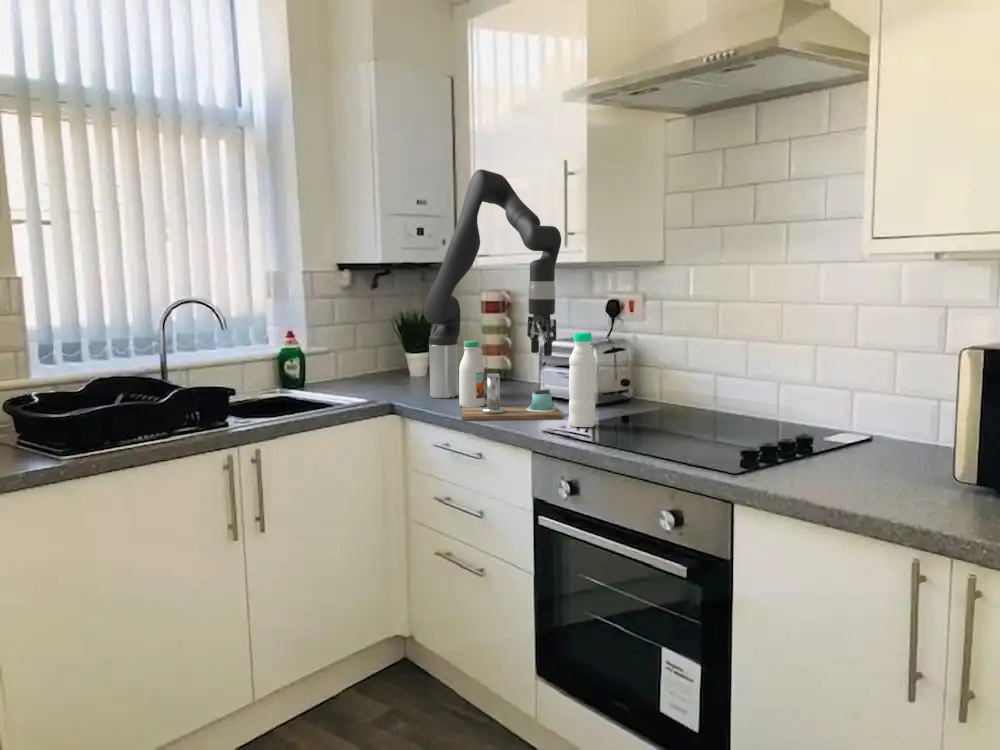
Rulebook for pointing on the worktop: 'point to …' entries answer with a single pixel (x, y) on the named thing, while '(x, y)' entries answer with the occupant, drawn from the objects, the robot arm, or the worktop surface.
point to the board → (511, 414)
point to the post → (493, 396)
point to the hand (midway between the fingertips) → (541, 354)
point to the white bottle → (582, 382)
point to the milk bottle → (471, 377)
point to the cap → (541, 400)
